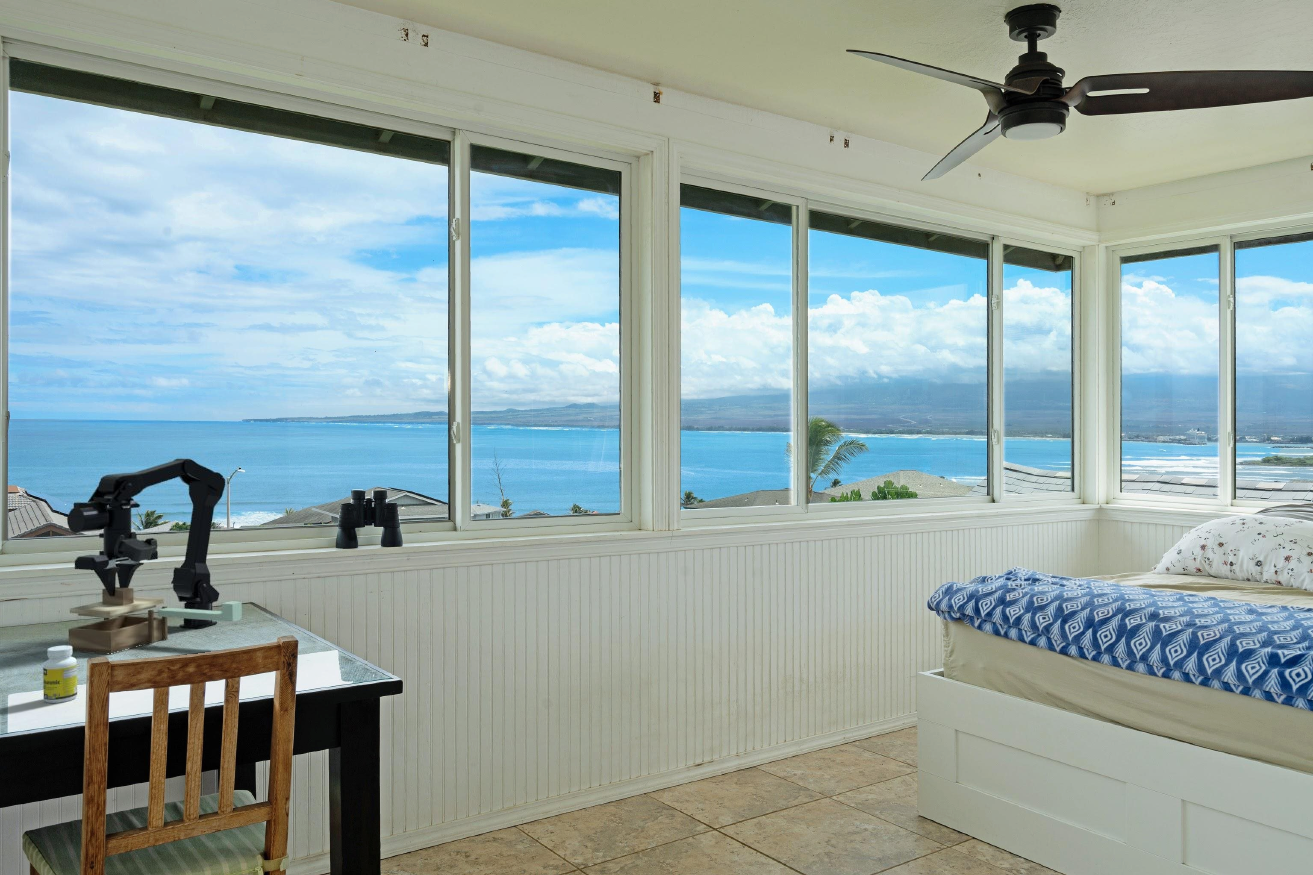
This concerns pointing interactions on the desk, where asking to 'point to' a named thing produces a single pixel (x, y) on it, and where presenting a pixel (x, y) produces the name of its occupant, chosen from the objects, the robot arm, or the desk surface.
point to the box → (118, 633)
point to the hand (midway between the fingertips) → (117, 594)
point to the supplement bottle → (60, 675)
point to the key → (206, 613)
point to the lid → (117, 604)
